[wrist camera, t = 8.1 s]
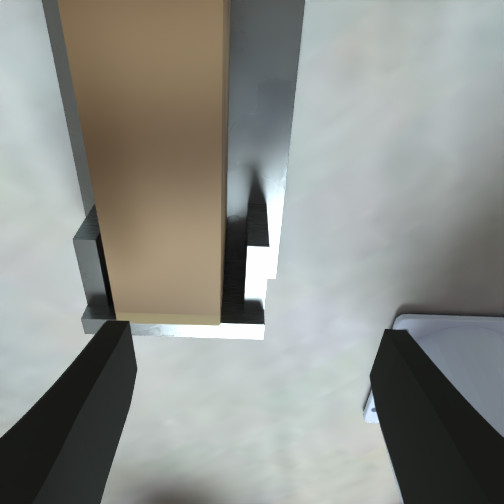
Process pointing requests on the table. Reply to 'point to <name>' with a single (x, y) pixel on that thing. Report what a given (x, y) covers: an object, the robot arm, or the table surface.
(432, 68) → the table surface
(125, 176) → the brown wooden block
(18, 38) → the table surface
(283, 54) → the brackets
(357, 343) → the table surface
